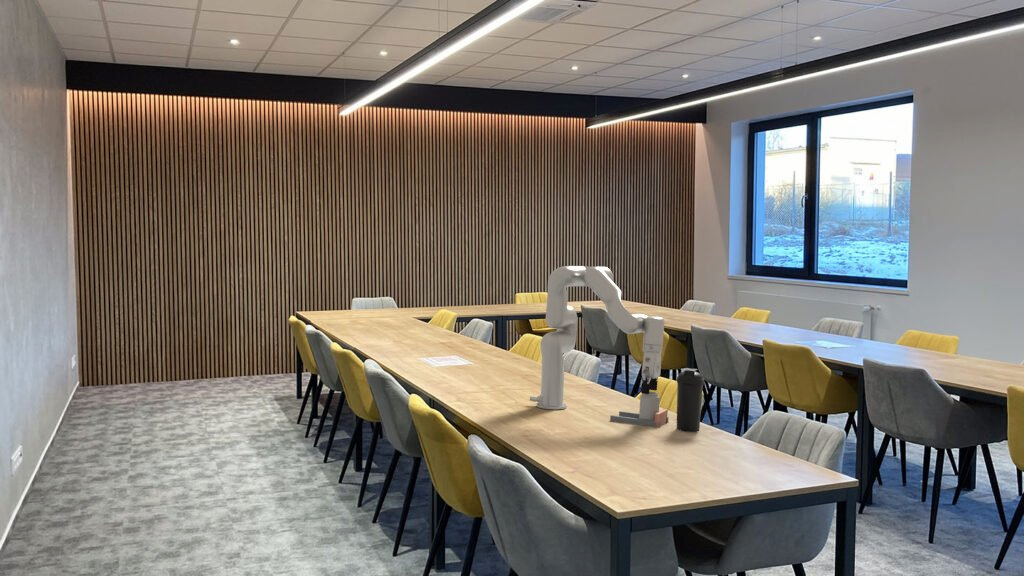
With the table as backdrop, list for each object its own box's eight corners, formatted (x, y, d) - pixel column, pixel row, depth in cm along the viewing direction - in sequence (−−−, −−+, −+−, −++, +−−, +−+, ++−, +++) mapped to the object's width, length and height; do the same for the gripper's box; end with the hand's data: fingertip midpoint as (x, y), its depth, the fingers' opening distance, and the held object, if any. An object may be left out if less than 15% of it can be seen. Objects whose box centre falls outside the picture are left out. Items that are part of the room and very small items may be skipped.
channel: (610, 420, 335) (610, 408, 335) (619, 416, 345) (620, 403, 345) (659, 427, 326) (660, 414, 326) (668, 422, 336) (668, 409, 336)
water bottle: (703, 428, 327) (706, 368, 326) (699, 433, 318) (703, 372, 316) (676, 425, 331) (679, 366, 329) (672, 430, 321) (675, 369, 320)
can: (658, 425, 329) (659, 394, 329) (638, 424, 331) (639, 393, 330) (658, 421, 337) (660, 391, 336) (639, 420, 338) (640, 390, 338)
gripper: (655, 351, 323) (651, 396, 324) (668, 347, 338) (664, 390, 340) (636, 349, 326) (632, 393, 328) (649, 345, 342) (646, 387, 343)
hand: (648, 391), depth 334 cm, fingers open, 9 cm apart
